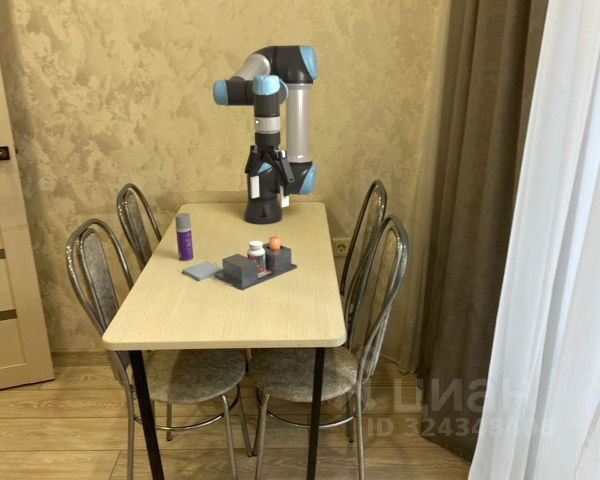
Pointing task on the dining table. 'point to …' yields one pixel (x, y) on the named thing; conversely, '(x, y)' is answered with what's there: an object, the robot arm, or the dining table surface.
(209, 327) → the dining table surface
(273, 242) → the orange oval piece
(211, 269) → the pad
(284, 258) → the housing
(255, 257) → the pill bottle
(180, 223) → the container
